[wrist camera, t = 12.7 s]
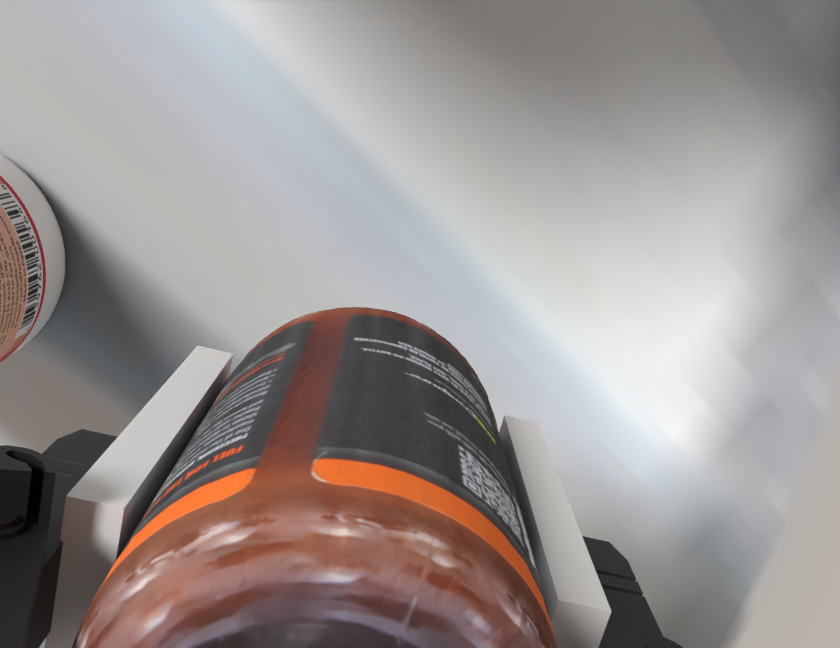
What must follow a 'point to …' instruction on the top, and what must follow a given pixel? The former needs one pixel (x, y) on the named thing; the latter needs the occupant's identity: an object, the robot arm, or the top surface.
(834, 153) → the top surface
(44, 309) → the fruit juice
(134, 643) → the supplement bottle
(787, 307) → the top surface
